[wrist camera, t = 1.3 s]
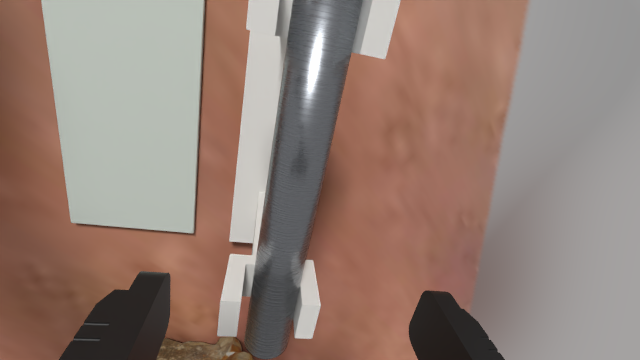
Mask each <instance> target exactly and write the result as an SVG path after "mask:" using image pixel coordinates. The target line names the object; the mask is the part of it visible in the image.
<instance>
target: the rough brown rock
mask: <svg viewBox="0 0 640 360" xmlns="http://www.w3.org/2000/svg"><path fill="white" fill-rule="evenodd" d="M156 360H254V359H253V357H252V355H251V354H250V353H247V352H242V347H241V344H240V342H239V340H237V339H236V338H235V337H222V338H220V339H219V341H218V342H217V343H216V344H215V345H211V344H208V343H205V342H192V341H189V342H184V343H180V342H177V341H173V340H171V339H166V338H164V340H163V342H162V345H161V348H160V350H159V353H158V356H157V358H156Z"/></svg>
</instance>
